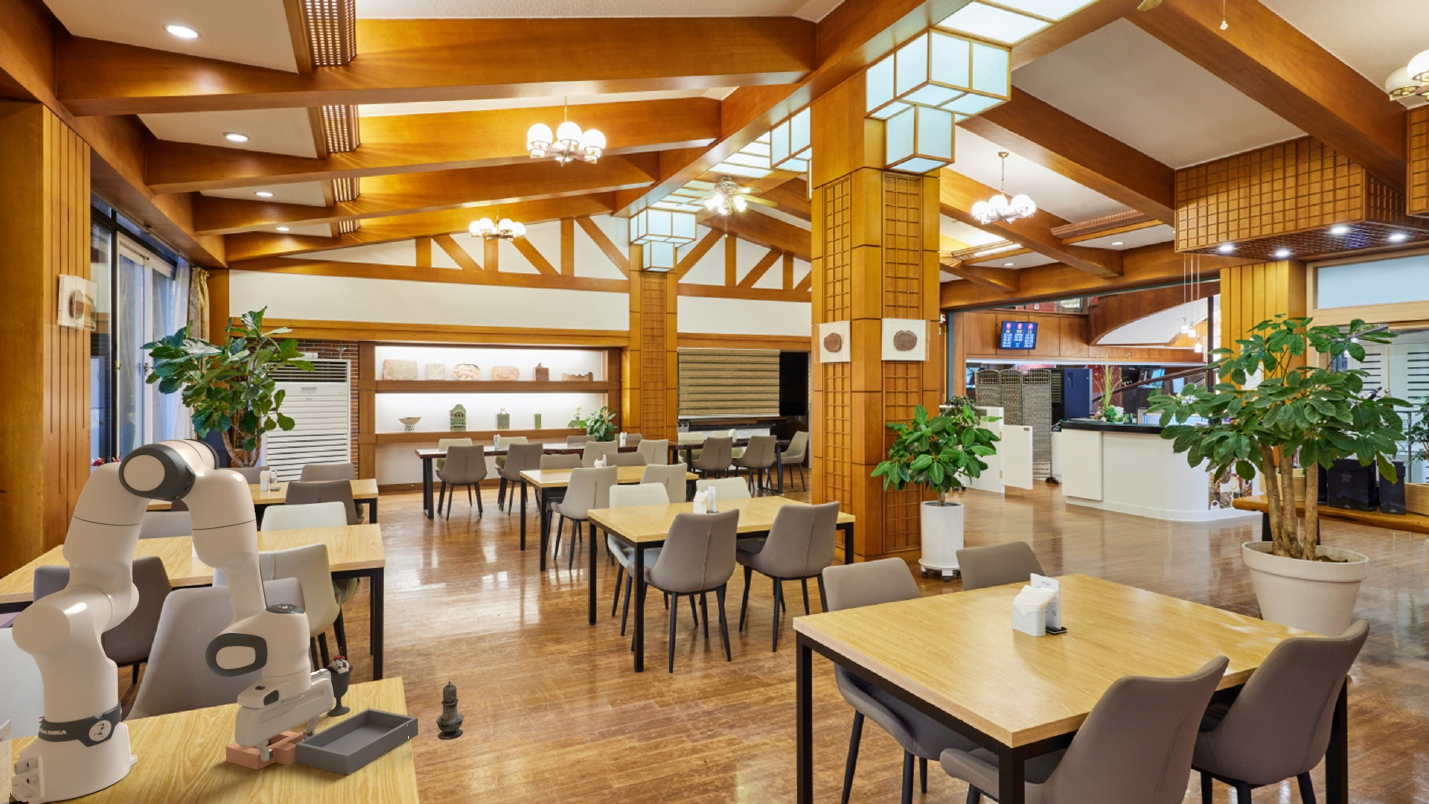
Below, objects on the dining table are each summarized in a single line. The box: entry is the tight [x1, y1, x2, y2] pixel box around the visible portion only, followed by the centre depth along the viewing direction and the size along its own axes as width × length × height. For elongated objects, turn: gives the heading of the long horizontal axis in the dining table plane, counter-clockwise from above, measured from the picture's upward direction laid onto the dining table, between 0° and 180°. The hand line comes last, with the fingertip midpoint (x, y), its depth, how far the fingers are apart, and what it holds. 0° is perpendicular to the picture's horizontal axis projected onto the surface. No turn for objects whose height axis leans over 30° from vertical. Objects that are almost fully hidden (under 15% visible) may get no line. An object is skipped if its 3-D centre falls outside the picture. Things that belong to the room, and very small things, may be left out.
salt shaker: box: [435, 680, 465, 741], centre depth 163 cm, size 6×6×12 cm
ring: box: [225, 730, 304, 771], centre depth 154 cm, size 14×10×3 cm
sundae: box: [324, 646, 354, 717], centre depth 176 cm, size 7×7×15 cm
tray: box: [295, 707, 419, 776], centre depth 157 cm, size 15×19×4 cm
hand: (288, 748), depth 153 cm, fingers open, 8 cm apart
